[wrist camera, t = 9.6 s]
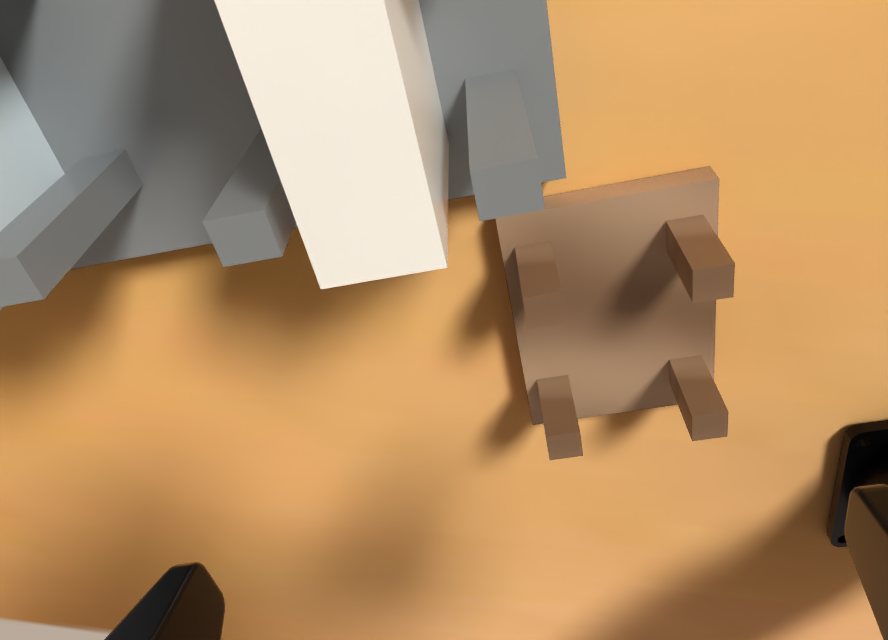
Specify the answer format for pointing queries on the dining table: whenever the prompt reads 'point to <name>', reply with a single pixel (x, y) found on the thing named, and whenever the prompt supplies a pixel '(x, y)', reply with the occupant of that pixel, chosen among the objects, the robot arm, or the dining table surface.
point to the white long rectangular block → (21, 154)
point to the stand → (619, 303)
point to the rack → (235, 129)
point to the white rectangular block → (350, 129)
